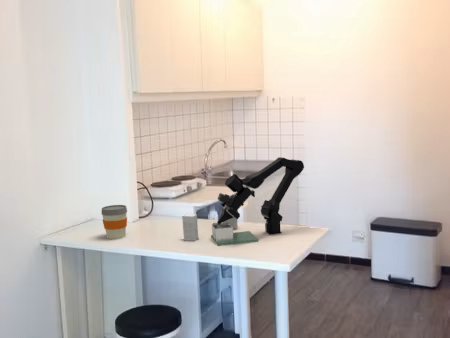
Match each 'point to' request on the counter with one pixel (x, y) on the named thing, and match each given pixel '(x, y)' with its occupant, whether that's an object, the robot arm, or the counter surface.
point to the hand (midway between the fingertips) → (217, 223)
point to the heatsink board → (239, 238)
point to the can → (232, 222)
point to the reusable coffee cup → (115, 221)
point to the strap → (220, 224)
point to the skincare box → (190, 227)
